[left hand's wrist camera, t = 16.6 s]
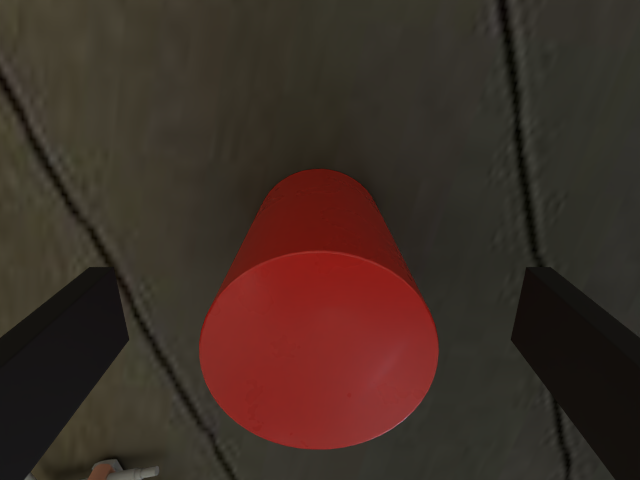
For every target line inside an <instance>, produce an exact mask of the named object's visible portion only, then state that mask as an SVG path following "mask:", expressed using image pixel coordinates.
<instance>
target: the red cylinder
mask: <svg viewBox="0 0 640 480" xmlns="http://www.w3.org/2000/svg"><path fill="white" fill-rule="evenodd" d="M438 354H439V346H438V335H437V331H436V326H435V323H434V321H433V318H432V315H431V313H430V311H429V309H428V307H427V305H426V303H425V301H424V299H423V297H422V295H421V293H420V291H419V289H418V287H417V285H416V283H415V281H414V279H413V277H412V275H411V273H410V271H409V269H408V267H407V265H406V263H405V261H404V259H403V257H402V255H401V253H400V251H399V249H398V247H397V245H396V243H395V241H394V239H393V237H392V235H391V233H390V231H389V229H388V227H387V225H386V223H385V221H384V219H383V217H382V215H381V213H380V211H379V209H378V208H377V206H376V204H375V202H374V200H373V198H372V196H371V195H370V194H369V193H368V191H367V190H366V189H365V188H364V187H363V186H362V185H361V184H360V183H359V182H357V181H356V180H354V179H353V178H351V177H349V176H347V175H345V174H343V173H340V172H337V171H333V170H328V169H310V170H304V171H301V172H297V173H295V174H292V175H290V176H288V177H287V178H285V179H283V180H282V181H280V182H279V183H278V184H277V185H275V186H274V188H273V189H272V190H271V191H270V192H269V193H268V195H267V196H266V197H265V199H264V201H263V203H262V205H261V207H260V209H259V211H258V213H257V215H256V217H255V219H254V221H253V223H252V225H251V227H250V229H249V231H248V233H247V235H246V237H245V239H244V241H243V243H242V245H241V247H240V249H239V251H238V253H237V255H236V257H235V259H234V261H233V263H232V265H231V267H230V269H229V271H228V273H227V275H226V277H225V279H224V281H223V283H222V285H221V287H220V289H219V291H218V293H217V295H216V297H215V299H214V301H213V303H212V305H211V307H210V309H209V311H208V313H207V315H206V317H205V320H204V323H203V326H202V329H201V335H200V341H199V358H200V364H201V370H202V373H203V376H204V379H205V382H206V384H207V386H208V388H209V390H210V393H211V394H212V396H213V397H214V399H215V400H216V402H217V403H218V405H219V406H220V407H221V408H222V409H223V410H224V411H225V412H226V414H227V415H229V416H230V417H231V418H232V419H233V420H234V421H235V422H237V423H238V424H239V425H241V426H242V427H244V428H245V429H247V430H248V431H250V432H252V433H254V434H256V435H258V436H259V437H262V438H264V439H267V440H269V441H272V442H275V443H278V444H282V445H285V446H290V447H295V448H302V449H335V448H343V447H347V446H352V445H356V444H359V443H363V442H366V441H369V440H371V439H373V438H376V437H378V436H380V435H382V434H384V433H386V432H387V431H389V430H391V429H392V428H394V427H395V426H397V425H398V424H399V423H401V422H402V421H403V420H405V419H406V418H407V417H408V416H409V415H410V414H411V413H412V412H413V411H414V410H415V409H416V407H417V406H418V405H419V404H420V403H421V401H422V400H423V398H424V397H425V395H426V393H427V392H428V390H429V388H430V386H431V383H432V381H433V379H434V376H435V372H436V368H437V364H438Z"/></svg>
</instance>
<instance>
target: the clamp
mask: <svg viewBox="0 0 640 480" xmlns="http://www.w3.org/2000/svg"><path fill="white" fill-rule="evenodd" d="M158 474H159V467H158V466H154V467H149V468H140V469H139V468H133V469H128V470H123V469H122V467H121V466H120V464H119V463H118V461H117V459H111V460H105V461H101V462H98V463H96V464H94V466H93V468H92V473H91V474H90V476H89V478H85V479H80V480H141V479H144V478H146V477H151V476H156V475H158ZM25 480H36V478H35V477H34V476H33V474H32V473H31V472H30V473H29V474H28V476H27V477H26V478H25Z"/></svg>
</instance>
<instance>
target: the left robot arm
mask: <svg viewBox="0 0 640 480" xmlns="http://www.w3.org/2000/svg"><path fill="white" fill-rule="evenodd" d="M128 341H129V336H128V332H127V327H126V322H125V318H124V313H123V309H122V304H121V299H120V295H119V290H118V285H117V281H116V276H115V272H114V267H89V268H88V269H87V270H85V271H84V272H83V273H82V274H80V275H79V276H78V277H77V278H75V279H74V280H73V281H71V282H70V283H69V284H68V285H66V286H65V287H64V288H63V289H61V290H60V291H59V292H58V293H56V294H55V295H54V296H53V297H51V298H50V299H49V300H48V301H46V302H45V303H44V304H43V305H41V306H40V307H39V308H37V309H36V310H35V311H34V312H32V313H31V314H30V315H29V316H27V317H26V318H25V319H24V320H22V321H21V322H20V323H19V324H17V325H16V326H15V327H14V328H12V329H11V330H10V331H8V332H7V333H6V334H5V335H3V336H2V337H1V338H0V480H25V478H26V477H27V476H28V474H29V473H30V472H31V470H32V469H33V468H34V466H35V465H36V464H37V462H38V461H39V460H40V458H41V457H42V456H43V454H44V453H45V452H46V450H47V449H48V448H49V446H50V445H51V444H52V442H53V441H54V440H55V438H56V437H57V436H58V434H59V433H60V432H61V430H62V429H63V428H64V426H65V425H66V424H67V422H68V421H69V420H70V418H71V417H72V416H73V414H74V413H75V412H76V410H77V409H78V408H79V406H80V405H81V403H82V402H83V401H84V399H85V398H86V397H87V395H88V394H89V393H90V391H91V390H92V389H93V387H94V386H95V385H96V383H97V382H98V381H99V379H100V378H101V377H102V375H103V374H104V373H105V371H106V370H107V369H108V367H109V366H110V365H111V363H112V362H113V361H114V359H115V358H116V357H117V355H118V354H119V353H120V351H121V350H122V349H123V347H124V346H125V345H126V343H127V342H128ZM511 341H512V342H513V343H514V345H515V346H516V347H517V349H518V350H519V351H520V353H521V354H522V355H523V357H524V358H525V359H526V361H527V362H528V363H529V365H530V366H531V367H532V369H533V370H534V371H535V373H536V374H537V375H538V377H539V378H540V379H541V381H542V382H543V383H544V385H545V386H546V387H547V389H548V390H549V391H550V393H551V394H552V395H553V397H554V398H555V399H556V401H557V402H558V403H559V405H560V406H561V408H562V409H563V410H564V412H565V413H566V414H567V416H568V417H569V418H570V420H571V421H572V422H573V424H574V425H575V426H576V428H577V429H578V430H579V432H580V433H581V434H582V436H583V437H584V438H585V440H586V441H587V442H588V444H589V445H590V446H591V448H592V449H593V450H594V452H595V453H596V454H597V456H598V457H599V458H600V460H601V461H602V462H603V464H604V465H605V466H606V468H607V469H608V470H609V472H610V473H611V474H612V476H613V477H614V478H615V480H640V338H639V337H638V336H637V335H635V334H634V333H633V332H632V331H630V330H629V329H628V328H626V327H625V326H624V325H623V324H621V323H620V322H619V321H618V320H616V319H615V318H614V317H613V316H611V315H610V314H609V313H608V312H606V311H605V310H604V309H603V308H601V307H600V306H599V305H597V304H596V303H595V302H594V301H592V300H591V299H590V298H589V297H587V296H586V295H585V294H584V293H582V292H581V291H580V290H579V289H577V288H576V287H575V286H574V285H572V284H571V283H570V282H569V281H567V280H566V279H565V278H563V277H562V276H561V275H560V274H558V273H557V272H556V271H555V270H553V269H552V268H551V267H526V272H525V276H524V281H523V285H522V290H521V295H520V299H519V304H518V309H517V313H516V318H515V322H514V327H513V332H512V336H511Z"/></svg>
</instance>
